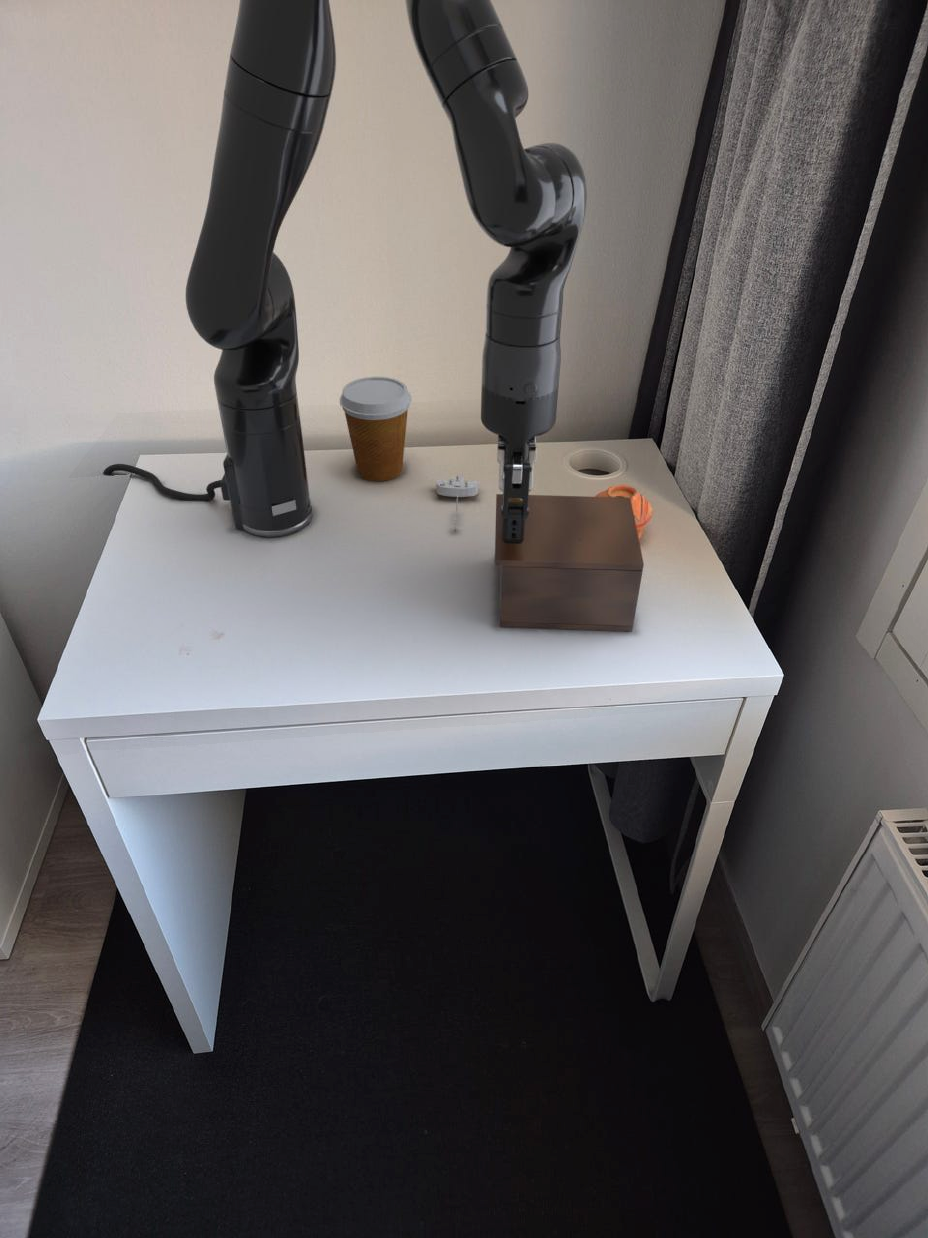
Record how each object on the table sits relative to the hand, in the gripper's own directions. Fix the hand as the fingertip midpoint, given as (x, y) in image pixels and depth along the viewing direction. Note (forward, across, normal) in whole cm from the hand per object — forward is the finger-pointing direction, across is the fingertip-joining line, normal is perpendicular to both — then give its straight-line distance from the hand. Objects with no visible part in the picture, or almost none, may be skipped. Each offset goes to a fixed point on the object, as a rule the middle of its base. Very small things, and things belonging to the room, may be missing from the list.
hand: (512, 519), depth 94 cm
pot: (+10, -13, +14) cm, 21 cm away
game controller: (+10, -18, -7) cm, 22 cm away
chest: (+10, 0, +6) cm, 12 cm away
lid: (+2, 0, +6) cm, 6 cm away
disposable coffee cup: (+10, -27, -18) cm, 34 cm away
